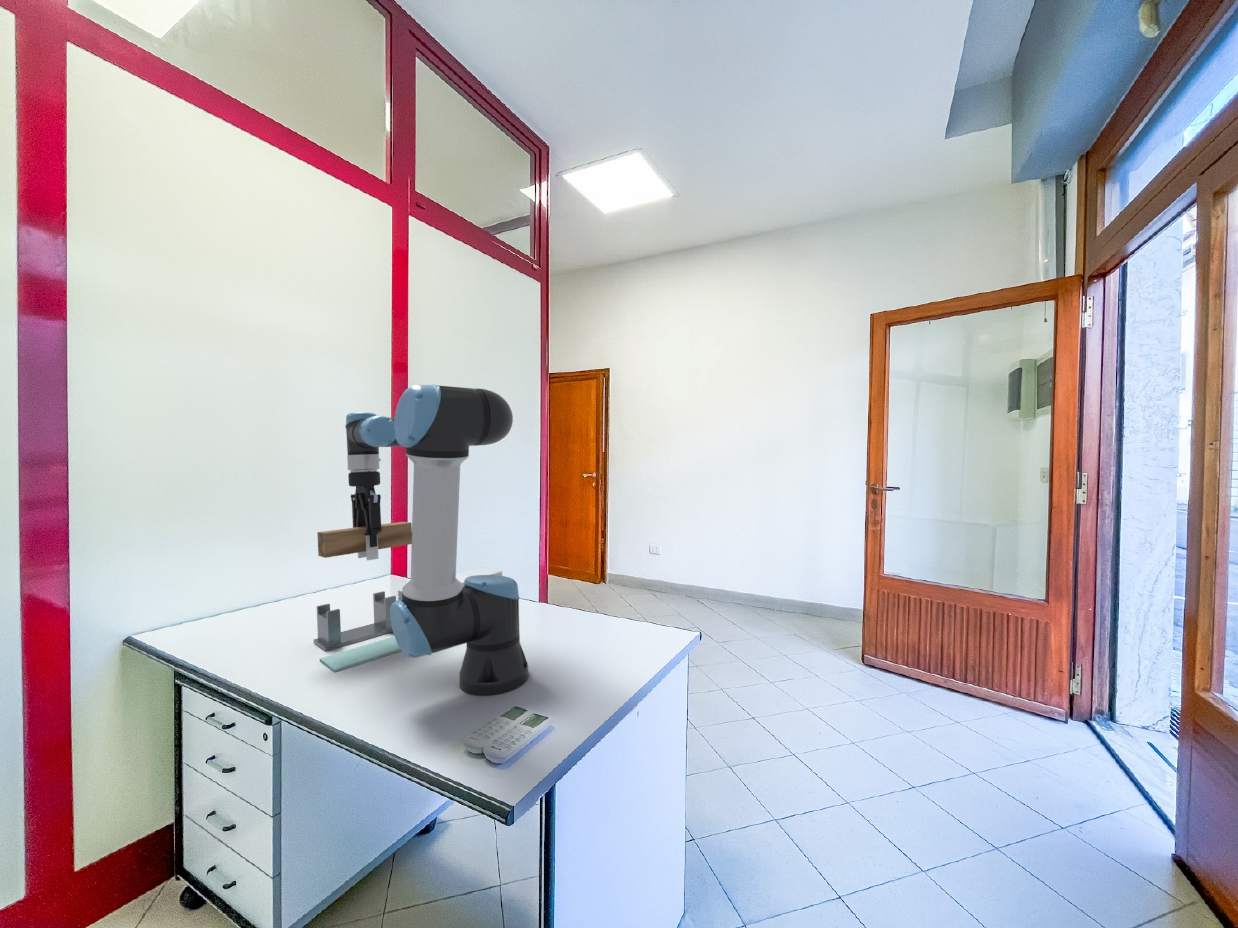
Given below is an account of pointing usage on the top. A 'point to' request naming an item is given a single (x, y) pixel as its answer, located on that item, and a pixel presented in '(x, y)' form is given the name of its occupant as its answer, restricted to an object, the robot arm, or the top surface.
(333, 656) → the mat
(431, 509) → the robot arm
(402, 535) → the rail
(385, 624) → the standards
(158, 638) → the top surface
